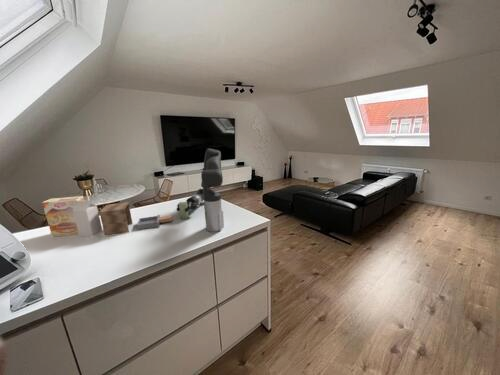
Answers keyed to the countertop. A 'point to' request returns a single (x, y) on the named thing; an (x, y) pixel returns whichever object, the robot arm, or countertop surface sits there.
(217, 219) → the robot arm
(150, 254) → the countertop surface
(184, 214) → the jar
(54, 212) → the coffeecake box
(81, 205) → the milk carton
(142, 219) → the tray
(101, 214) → the cabinet
